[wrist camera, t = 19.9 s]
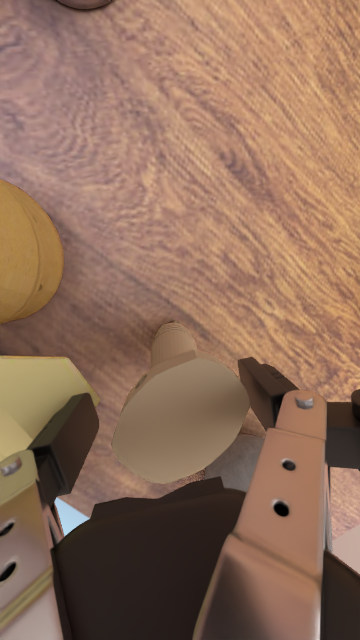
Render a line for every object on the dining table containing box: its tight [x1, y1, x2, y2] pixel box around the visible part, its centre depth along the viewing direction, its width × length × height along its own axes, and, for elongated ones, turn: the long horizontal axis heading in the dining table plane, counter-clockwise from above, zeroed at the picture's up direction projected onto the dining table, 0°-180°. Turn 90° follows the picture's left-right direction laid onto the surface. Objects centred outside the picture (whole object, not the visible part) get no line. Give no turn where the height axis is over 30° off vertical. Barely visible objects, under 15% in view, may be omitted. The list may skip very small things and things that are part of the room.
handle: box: [111, 321, 250, 484], centre depth 17 cm, size 5×6×15 cm
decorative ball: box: [204, 434, 264, 492], centre depth 23 cm, size 10×10×10 cm
